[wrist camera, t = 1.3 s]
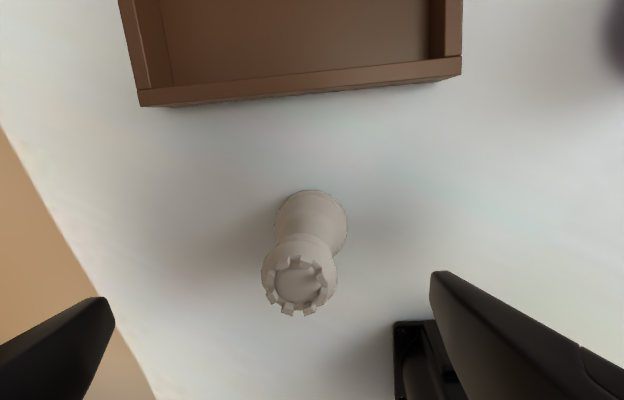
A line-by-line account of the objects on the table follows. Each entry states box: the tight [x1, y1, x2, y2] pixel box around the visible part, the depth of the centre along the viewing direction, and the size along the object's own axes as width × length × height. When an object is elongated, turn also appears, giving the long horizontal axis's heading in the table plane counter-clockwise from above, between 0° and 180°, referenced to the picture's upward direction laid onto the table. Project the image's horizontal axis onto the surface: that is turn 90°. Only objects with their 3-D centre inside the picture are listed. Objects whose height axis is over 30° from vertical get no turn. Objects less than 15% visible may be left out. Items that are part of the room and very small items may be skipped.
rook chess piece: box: [261, 190, 347, 316], centre depth 17 cm, size 4×4×8 cm
